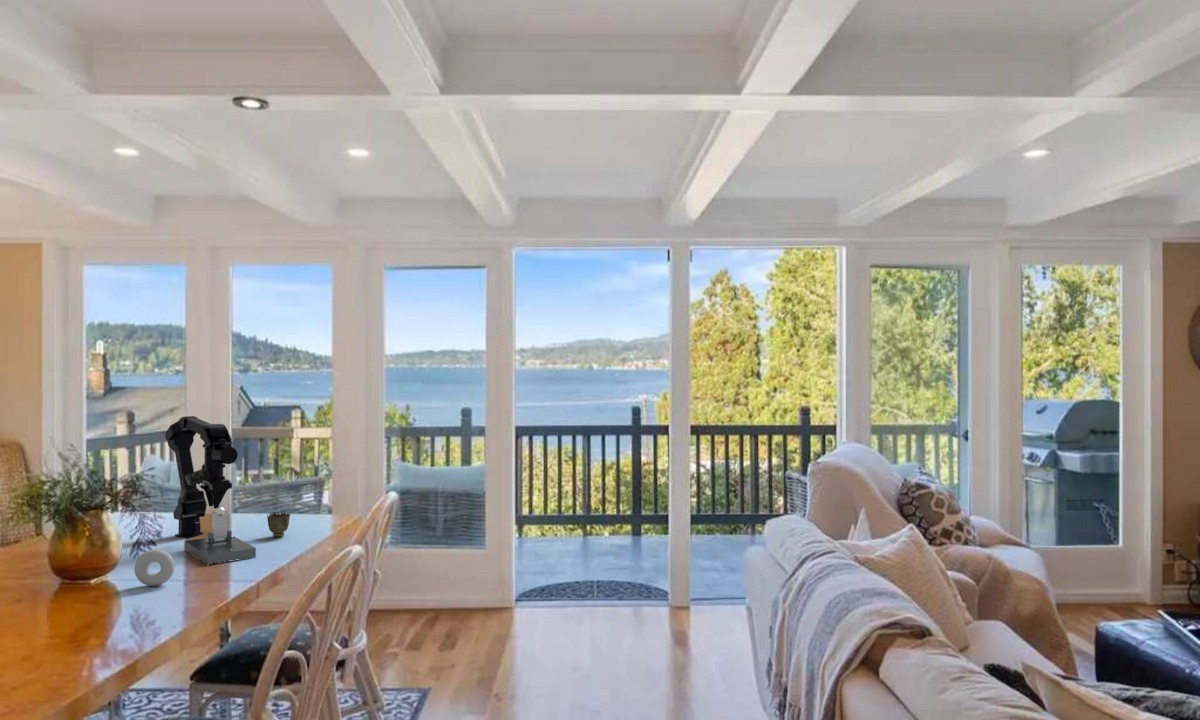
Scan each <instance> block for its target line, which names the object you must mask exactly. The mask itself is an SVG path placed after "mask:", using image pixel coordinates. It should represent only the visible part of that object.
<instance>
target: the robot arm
mask: <svg viewBox="0 0 1200 720" xmlns="http://www.w3.org/2000/svg"><path fill="white" fill-rule="evenodd" d="M197 434H198V435H199V438H200V439H201V440H202V441H203V443H204V444H202V448H204V463H203V464H202V465H201V469H198V470H194V464H193V459H192V452H191V447H192V445H193V444H194V442H195V441H194V437H196V435H197ZM164 437H165V440H166V441H167V444H168V445H167V446H168V447H169V449H171V450H172V451H173V452H174V454H175V460H176V467H177V473H178V478H179V484H180V490H181V491H180V494H179V497H178V498H177V506H176V507H175V509H174V511H173V513H172V515H173V519H174V520H176V521H178V533H176V534H174V537H180V538H181V537H182V538H192V537H196V536H199V534H200V535H203V534H204V531H201V517H203V518H204V517H205V515H206V510H207V505H208V507H213V509H214V510H216V508H218V507H220V505H221V502H222V501H223V499H224V497H225V495H226V494H227V492H228V490H230V489H232V488H233V482H232V481H231V480H229V479H227V478H226V476H225V475H224V468H226V465H230V464H233V463H235V462H236V461H237V458H238V454H239V453H238V451H237V449H236V448H234V447H233V445H232V444H233V442H232V441H233V438H232V436H231V435H230V432H229V430H228V427H227V426H226V425H225V424H223V423H209V422H207V421H205V420H203V419H200V418H198V417H197V416H195V415H190V416H189V415H188V416H182V417H180V418H179V419H178V420H177V421H176V422H174V423H172V424H170V425H169V426H168V428H167V429H166V432H165V434H164ZM198 485H199V488H201V489H202V490H200V489H199V488H198ZM205 496H206V497H205ZM202 533H203V534H202Z"/></svg>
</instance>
